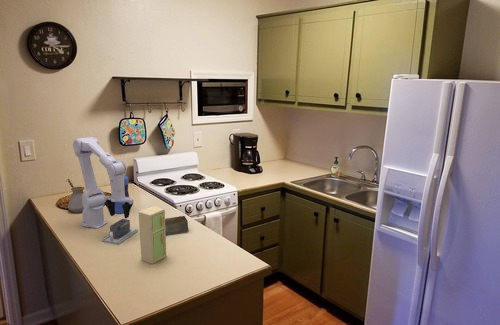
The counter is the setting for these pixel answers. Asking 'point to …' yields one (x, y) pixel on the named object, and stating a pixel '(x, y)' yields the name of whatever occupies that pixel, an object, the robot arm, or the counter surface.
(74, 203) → the coffee pot
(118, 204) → the water bottle
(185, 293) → the counter surface
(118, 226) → the block
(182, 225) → the beverage carton
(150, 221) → the toy refrigerator
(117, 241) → the tray
